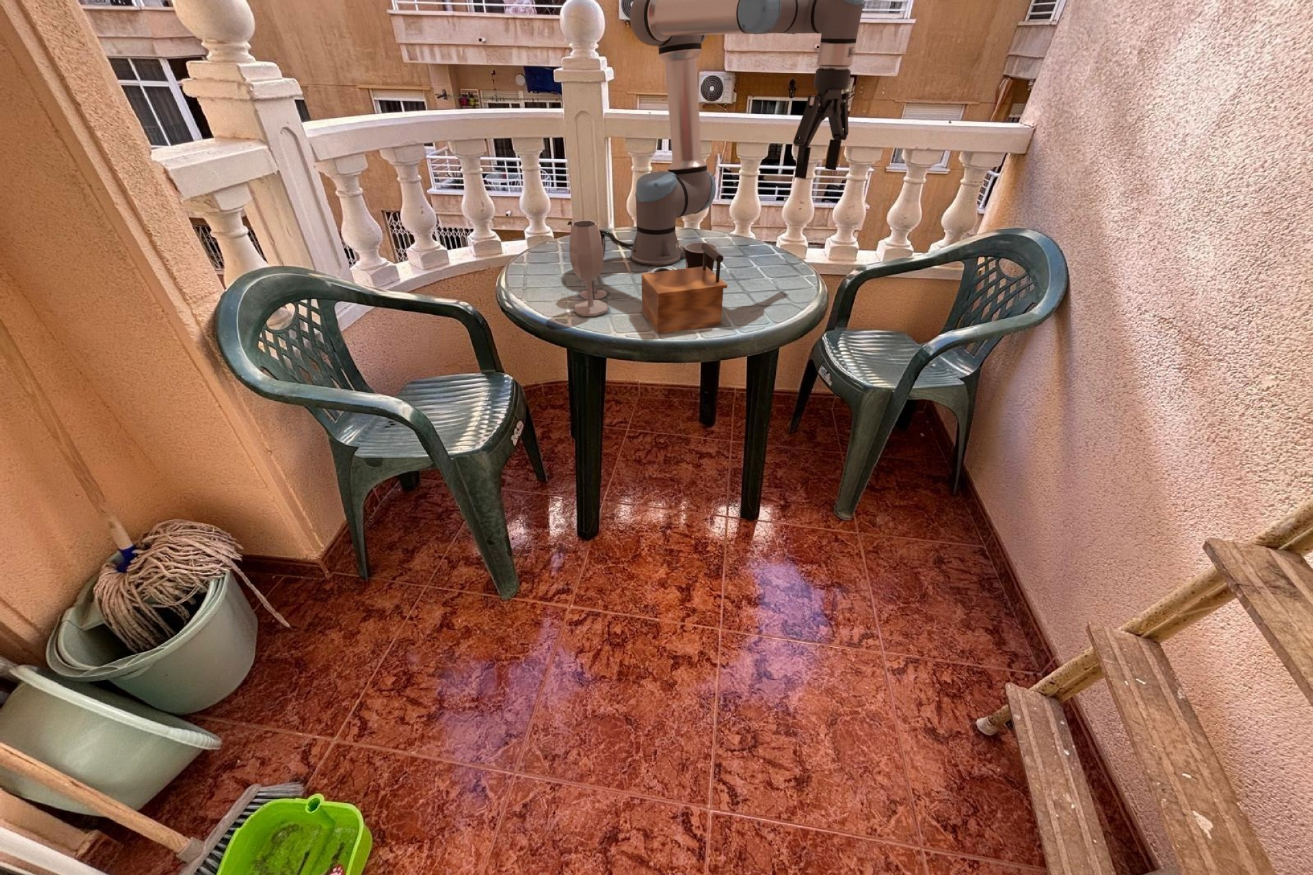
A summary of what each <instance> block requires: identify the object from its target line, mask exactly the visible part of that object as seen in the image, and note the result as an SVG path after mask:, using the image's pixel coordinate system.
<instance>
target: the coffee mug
mask: <svg viewBox="0 0 1313 875" xmlns="http://www.w3.org/2000/svg"><path fill="white" fill-rule="evenodd" d="M704 243H707V244H708V245H709V246H711V247H712V248H713V249H715V250H716V251H718V250H717V249H718V248H717V247H718V246H716V245H715V244H713V243H710V242H704V241H703V242H702V241H697V242H689V243H687V244H685V245H684V258H685V259H684V260H685V269H686V268H694V267H703V250H702V249H701V246H702V244H704ZM715 262H716V261H715V260H714V259H713V258H711V257H710V256H709V255H708V254H707V261H706V266H707V267H708V268H709V269H710V270H711V271H712V272H713V271H714V265H715ZM713 273H714V272H713Z"/></svg>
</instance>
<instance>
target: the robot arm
mask: <svg viewBox="0 0 1313 875" xmlns="http://www.w3.org/2000/svg"><path fill="white" fill-rule="evenodd" d="M864 6H865V0H633V1H632V4H631V6H630V10H629V23H630V27H631V29H632V32H633V34H634V36H635V37H636V38H637V39H638V40H639V41H640V42H641V43H643V44H645V45H646V46H652V47H657V48H658V57H659V59H661V60H662V62H663V63H664V66H665V67H664V68H665V80H666V93H667V106H668V118H669V119H668V120H669V131H670V133H669V134H670V146H671V147H670V148H671V160H672V161H671V163H670V164H669V166H668V167H667V171H666V170H659V171H652V172H648V173H645V174H643V175H641V176H640V177H639V178H638V179H637V180H636V184H635V210H636V211H635V212H636V214H635V216H636V234H635V237H634V240H633V243H627V242H623V241H621V240H619V239H617V238H616V237H615V235H614V234H613V233H611V232H610V231H606V230H601V229H599V231H600V233H602V234H604V235H607V236H610V237H611V239H612V240H613V241H614V242H615V243H616V244H619V245H621V246H624V247H628V248H631V256H630V257H631V260H632V261H633V262H635V263H637V264H638V265H639V264H640V265H643V266H651V267H652V266H653V267H658V266H659V267H660V266H661V267H662V266H669V265H673V264H675V263H677V262H679V261H680V260H681V258H682V252H681V247H680V242H679V240H678V237H677V232H676V223H677V222H676V219H679V218H682V217H686V216H690V215H696V214H699V213H700V212H703V211H705V210H708V208H710V206H711V204H713V202H714V200H715V196H716V191H717V184H716V180H715V177H713V174H712V173H711V172H710V171H709V170H708V163H707V161H705V160H704V159H703V157H702V144H701V143H702V142H701V125H700V124H701V123H700V104H699V82H698V64H697V62H698V61H697V59H698V58H699V56H700V54H701V53H702V50H703V48H702V43H703V42H704V41H705V39H706V37H707V36H711V35H713V36H714V35H715V36H716V35H744V34H746V35H747V34H748V35H764V34H768V35H769V34H785V35H786V34H787V35H795V34H820V42H819V48H818V53H817V60H816V65H817V66H818V68H817V69H815V73H814V81H813V88H814V89H815V90H817V93H816V95H815V94H814V95H812V94H809V95H808V96H807V100H806V104H805V108H804V111H803V114H802V116H801V118H800V122H799V124H798V127H797V130H796V133H795V135H794V138H793V145H794V147H797V148H798V149H797V156H796V164H795V170H794V178H798V179H801V180H802V179H803V180H805V179H807V175H808V168H809V163H810V162H809V161H810V156H811V155H810V154H811V150H812V147H811V146H810V145H811V143H812V141H813V139H814V137H815V135H816V134H817V131H818V129H819V127H820V126H821V124H822V122H823V121H825V120H826V119H827V120H828V123H829V128H830V132H831V137H832V138H831V139H829V144H828V148H827V149H828V150H827V156H826V160H825V166H824V169H825V170H829V171H837V166H838V162H839V156H840V152H841V146H842V141H846V140H847V138H848V135H849V97H850V92H848V91H845V90H847V89H848V88H849V83H850V78H851V75H852V74H851V72H852V71H851V69H849V67H851V66H852V65H853V60H854V56H855V54H856V44H857V39H858V35H859V28H860V24H861V20H862V14H863V9H864ZM572 222H573V221H571V220H569V221H568V222H567V224H566V225H567V226H570V227H571V226H572ZM607 232H608V233H607Z"/></svg>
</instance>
